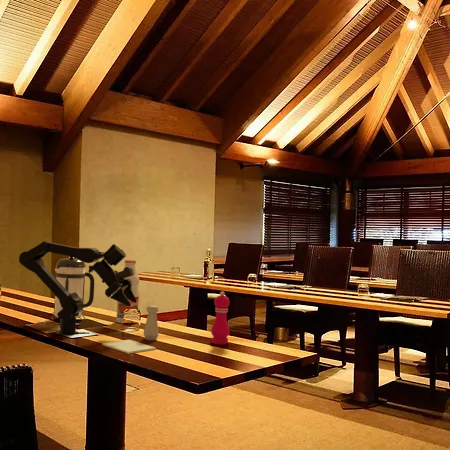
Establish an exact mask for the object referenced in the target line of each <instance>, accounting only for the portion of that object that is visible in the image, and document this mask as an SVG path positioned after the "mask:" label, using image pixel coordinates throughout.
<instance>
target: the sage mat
mask: <svg viewBox="0 0 450 450" xmlns="http://www.w3.org/2000/svg"><path fill="white" fill-rule="evenodd" d="M101 345H102V346H104V347H107V348H110V349H113V350H115V351H118V352H122V353H125V354H128V355H129V354H133V353H134V354H135V353H142V352H147V351H148V352H149V351H154V350H157V347H154V346H152V345H148V344H145V343H141V342H138V341H135V340H133V339H124V340H117V341H116V340H115V341H108V342H102V343H101Z"/></svg>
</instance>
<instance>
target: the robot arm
mask: <svg viewBox="0 0 450 450" xmlns="http://www.w3.org/2000/svg"><path fill="white" fill-rule="evenodd" d="M48 253H52V254H58V255H62V256H67V257H69V256H71V257H73V258H74V259H78V260H81V261H83V262H84V263H85V264H90V263H91V264H92V263H94V264H93V265H88V273H90V274H92V273H93V272H95V273H96V274H97V275H98V277H99V278H100V279H101V282H102V283H103V284H105V285H106V286H107V288H106V289H105V290H104V295H105V296H106V297H107V298H110V299H111V300H114V301H116V302H117V301H119V302H121V303H123V304H125V305H127V306H130V305H131V304H130V302H129V300H130V301H132V302H134V303H136V302H137V300H136V298H135V296H134V294H133V292H132V284H131V283H132V281H131V280H130V279H124V278H126V277H129V276H133V275H134V273H133V269H132V268H129V267H126V268H124V267H123V269H124V270H123V269H122V270H120V271H118V270H114V269H113V268H112V266H115V267H116V266H117V265H118V264H119V263H121V262H122V260H124V259H125V258H126V257H127V255H126V252H125V251H124V250H123V249H121V248H120V247H119V246H117V245H116V244H114V243H113V244H111V245H110V247H109V248H108V249H107V250H106V251H103V252H102V251H99V249H98V248H96V247H76V246H70V245H67V244H61V243H56V242H52V241H48V240H45V241H42V242H40V243H39V244H38V245H36V246H34V247H33V248H31V249H28V250H27V251H22V252H21V253H20V254H19V256H18V262H19V263H20V265H21V266H23V267H25V269H27V270H28V271H31V272H32V273H34V274H35V275H36V276H37V278H39V279H40V281H41V282H42V283H43V284H44V285H45V286H46V288H48V289H49V291H51V293H53V295H54V297H55V296H56V297H57V298H58V299H59V302H60V305H61V307H62V308H63V309H62V310H61V311H60V312H58V313H57V315H58V317H57V319H59V320H60V323H59V324H60V325H59V330H56V333H57V334H60V335H63V336H67V335H76V334H78V335H79V334H80V333H79V331H76V329H77V328H76V327H77V318H76V316H78V315H79V312H81V311H82V310H83V311H84V308H83V305H84V304H85V303H84V302H82V298H80V297H79V296H78V294H77V293H76V292H74V293H69V292H68V291H67V290H66V289H65V288H64V287H63V286H62V285H61V283H60V282H59V281H58V280H57V279H56V276H54V274H52V272H51V271H50V270H49V269H48V268H47V267H46V266H45V262H44V260H43V259H42V258H44V257H45V256H46V255H47V254H48ZM100 259H101V260H100ZM99 260H100V261H99ZM128 299H129V300H128Z"/></svg>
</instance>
